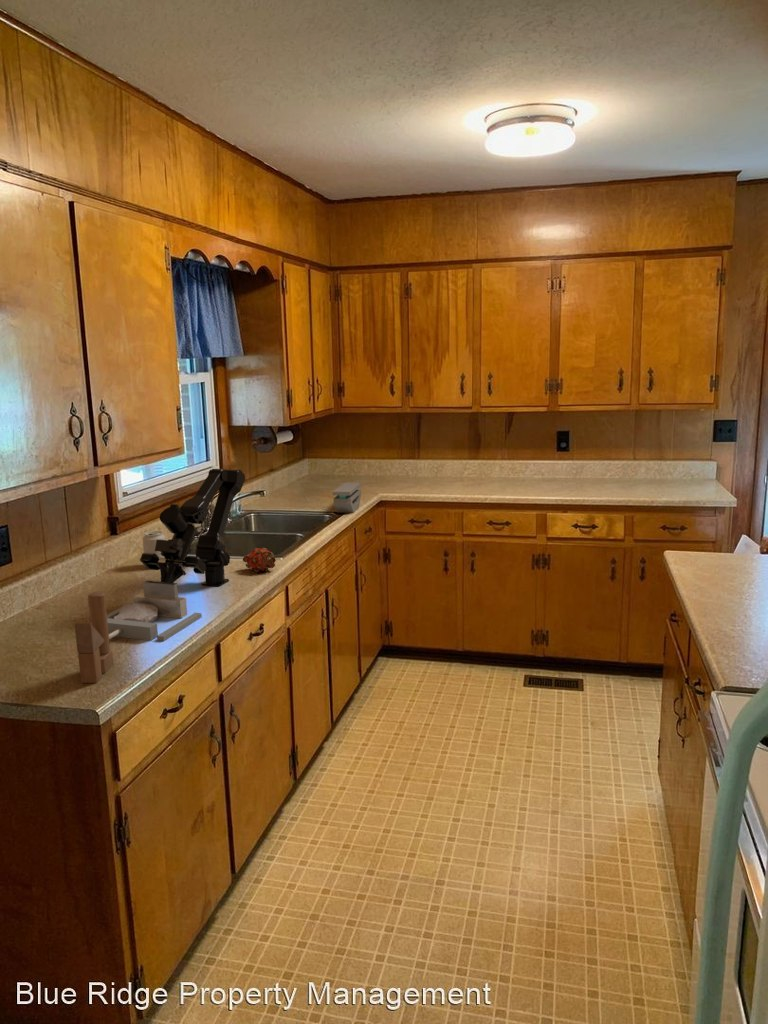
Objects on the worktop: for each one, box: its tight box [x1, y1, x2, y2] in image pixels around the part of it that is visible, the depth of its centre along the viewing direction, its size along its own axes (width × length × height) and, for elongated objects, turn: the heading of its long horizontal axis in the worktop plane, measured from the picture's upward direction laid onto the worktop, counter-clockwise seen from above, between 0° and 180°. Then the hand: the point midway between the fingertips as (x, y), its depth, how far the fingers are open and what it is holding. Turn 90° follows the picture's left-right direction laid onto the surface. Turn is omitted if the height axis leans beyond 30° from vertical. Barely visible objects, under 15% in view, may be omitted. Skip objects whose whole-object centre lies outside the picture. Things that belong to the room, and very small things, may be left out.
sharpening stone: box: [332, 481, 362, 514], centre depth 342 cm, size 25×8×11 cm, turn 170°
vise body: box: [107, 606, 203, 642], centre depth 195 cm, size 29×25×4 cm
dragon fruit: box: [242, 547, 277, 573], centre depth 248 cm, size 8×8×12 cm
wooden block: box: [73, 591, 114, 684], centre depth 168 cm, size 4×11×18 cm, turn 0°
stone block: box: [114, 602, 158, 623], centre depth 201 cm, size 12×5×10 cm
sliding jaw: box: [133, 580, 188, 619], centre depth 207 cm, size 3×15×9 cm, turn 72°
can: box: [142, 530, 167, 558], centre depth 255 cm, size 8×8×12 cm
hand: (162, 589), depth 208 cm, fingers closed, pressing on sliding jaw
